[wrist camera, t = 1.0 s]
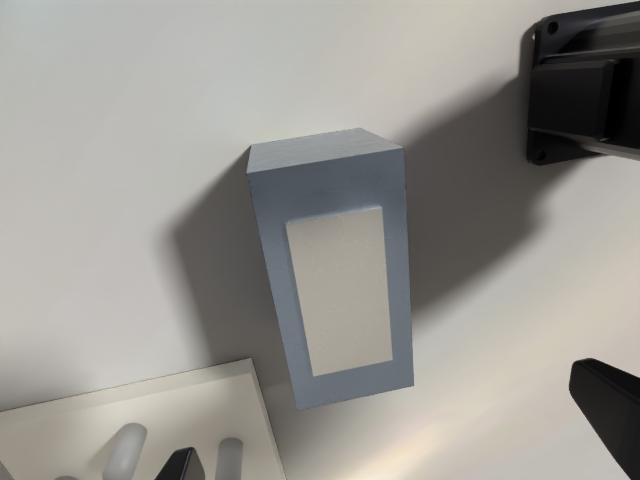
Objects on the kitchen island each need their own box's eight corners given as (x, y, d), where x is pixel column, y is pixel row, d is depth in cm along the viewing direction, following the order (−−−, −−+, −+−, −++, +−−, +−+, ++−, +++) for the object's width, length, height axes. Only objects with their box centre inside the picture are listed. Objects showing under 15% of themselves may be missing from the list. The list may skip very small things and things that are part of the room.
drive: (359, 127, 17) (406, 148, 12) (375, 307, 21) (415, 389, 16) (251, 144, 17) (245, 174, 11) (288, 325, 21) (297, 414, 15)
